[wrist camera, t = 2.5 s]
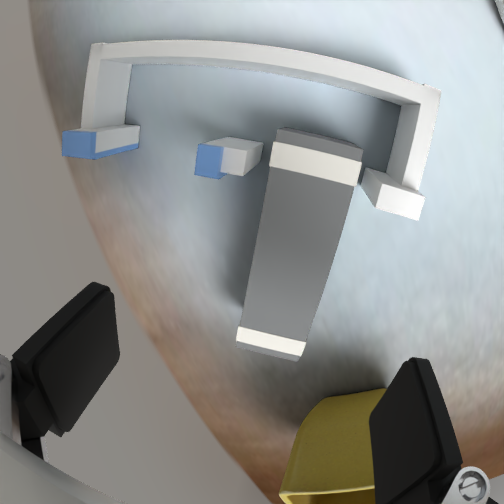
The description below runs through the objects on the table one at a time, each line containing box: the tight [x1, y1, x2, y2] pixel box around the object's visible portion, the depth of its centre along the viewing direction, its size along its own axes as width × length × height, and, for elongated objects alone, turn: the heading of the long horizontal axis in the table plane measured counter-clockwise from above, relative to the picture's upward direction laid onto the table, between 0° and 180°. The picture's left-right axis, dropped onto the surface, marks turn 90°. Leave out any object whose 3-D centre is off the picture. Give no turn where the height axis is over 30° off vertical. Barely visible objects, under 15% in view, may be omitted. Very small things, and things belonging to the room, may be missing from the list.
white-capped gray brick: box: [236, 127, 363, 362], centre depth 15 cm, size 11×4×4 cm, turn 170°
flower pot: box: [279, 388, 387, 504], centre depth 17 cm, size 9×9×9 cm
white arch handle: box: [62, 40, 441, 221], centre depth 12 cm, size 6×16×4 cm, turn 80°
